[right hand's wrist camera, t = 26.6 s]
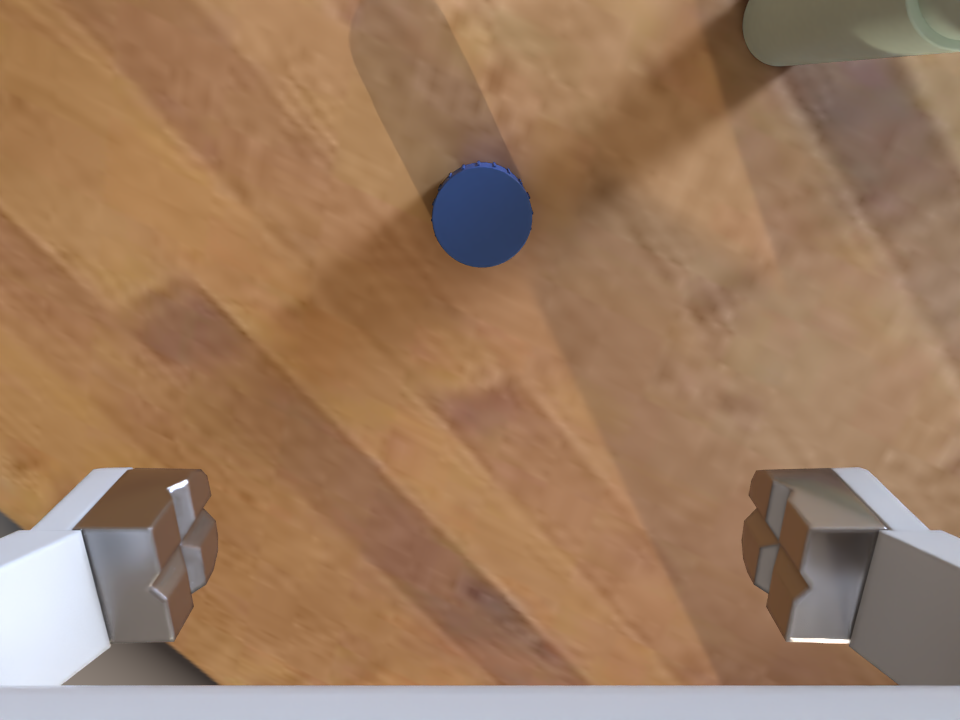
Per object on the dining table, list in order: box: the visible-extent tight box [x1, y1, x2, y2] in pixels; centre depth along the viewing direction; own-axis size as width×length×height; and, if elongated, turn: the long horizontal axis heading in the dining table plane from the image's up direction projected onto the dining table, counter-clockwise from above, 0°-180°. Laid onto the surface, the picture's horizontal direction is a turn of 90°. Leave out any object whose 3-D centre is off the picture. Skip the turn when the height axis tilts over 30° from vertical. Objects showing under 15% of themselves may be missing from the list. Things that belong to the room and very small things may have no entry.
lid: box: [431, 161, 533, 267], centre depth 34 cm, size 5×5×2 cm
